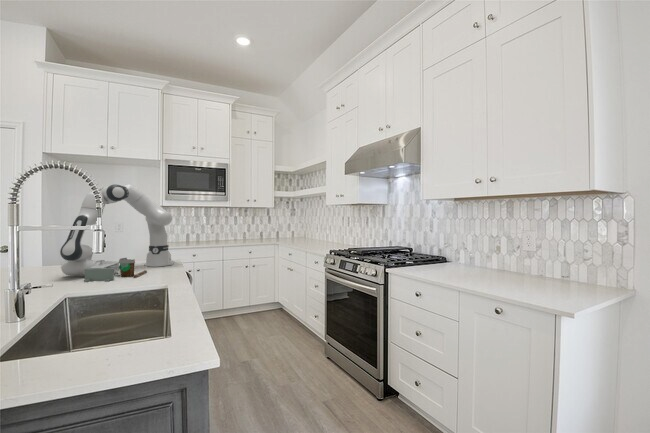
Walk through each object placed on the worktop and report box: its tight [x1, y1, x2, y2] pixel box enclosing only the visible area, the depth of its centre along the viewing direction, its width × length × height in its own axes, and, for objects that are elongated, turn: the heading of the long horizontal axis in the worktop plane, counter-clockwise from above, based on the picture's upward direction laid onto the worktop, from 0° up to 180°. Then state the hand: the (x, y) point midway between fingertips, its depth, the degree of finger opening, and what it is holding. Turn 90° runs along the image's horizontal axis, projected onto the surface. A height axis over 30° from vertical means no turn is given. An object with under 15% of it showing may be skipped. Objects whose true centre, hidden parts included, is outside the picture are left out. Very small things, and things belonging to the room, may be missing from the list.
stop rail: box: [133, 270, 148, 279], centre depth 190 cm, size 16×1×2 cm, turn 9°
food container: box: [117, 257, 136, 278], centre depth 188 cm, size 12×6×10 cm, turn 53°
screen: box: [84, 268, 115, 283], centre depth 174 cm, size 4×14×6 cm, turn 99°
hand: (120, 267), depth 188 cm, fingers closed
